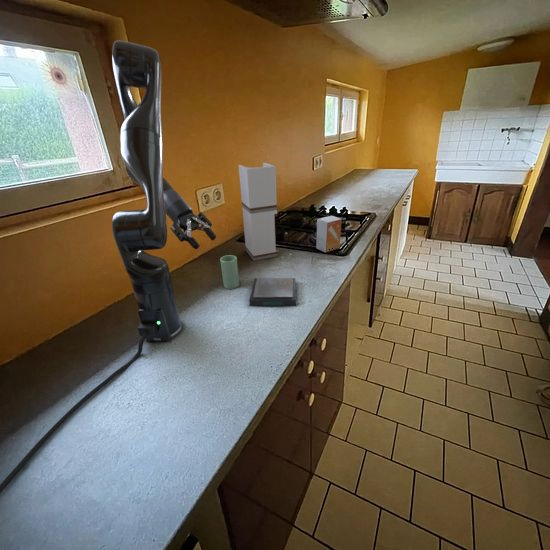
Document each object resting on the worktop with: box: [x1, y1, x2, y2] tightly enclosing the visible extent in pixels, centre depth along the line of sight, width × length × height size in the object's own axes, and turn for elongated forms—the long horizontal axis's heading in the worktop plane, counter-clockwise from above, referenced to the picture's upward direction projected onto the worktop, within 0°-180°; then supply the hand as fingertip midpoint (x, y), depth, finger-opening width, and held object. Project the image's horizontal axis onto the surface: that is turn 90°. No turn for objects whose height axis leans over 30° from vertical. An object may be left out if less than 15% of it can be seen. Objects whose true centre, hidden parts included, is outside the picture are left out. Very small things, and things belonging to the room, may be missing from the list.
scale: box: [248, 277, 297, 307], centre depth 96 cm, size 14×14×3 cm
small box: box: [315, 215, 343, 253], centre depth 126 cm, size 8×6×13 cm
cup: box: [219, 254, 240, 290], centre depth 101 cm, size 5×5×10 cm
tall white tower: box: [238, 162, 280, 262], centre depth 119 cm, size 11×11×35 cm
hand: (206, 243), depth 101 cm, fingers open, 8 cm apart
